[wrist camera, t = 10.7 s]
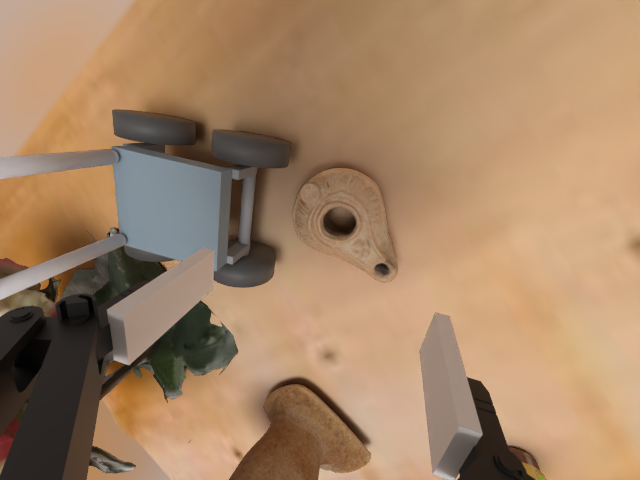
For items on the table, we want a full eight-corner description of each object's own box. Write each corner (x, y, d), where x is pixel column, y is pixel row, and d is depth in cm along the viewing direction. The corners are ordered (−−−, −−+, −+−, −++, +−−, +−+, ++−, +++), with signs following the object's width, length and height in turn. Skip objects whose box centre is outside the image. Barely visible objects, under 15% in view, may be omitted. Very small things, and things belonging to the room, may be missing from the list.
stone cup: (249, 398, 45) (186, 517, 31) (305, 368, 40) (261, 492, 27) (313, 464, 47) (281, 603, 33) (374, 442, 42) (365, 593, 29)
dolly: (151, 111, 32) (-197, 89, 13) (300, 142, 30) (138, 170, 11) (156, 229, 38) (-86, 335, 19) (282, 264, 35) (153, 425, 16)
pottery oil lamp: (363, 289, 34) (322, 313, 29) (319, 195, 35) (273, 202, 30) (431, 263, 28) (395, 287, 23) (374, 152, 29) (328, 151, 24)
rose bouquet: (86, 195, 38) (-676, 365, 11) (254, 344, 41) (-25, 784, 13) (33, 304, 49) (-429, 532, 21) (169, 417, 51) (-86, 751, 24)
